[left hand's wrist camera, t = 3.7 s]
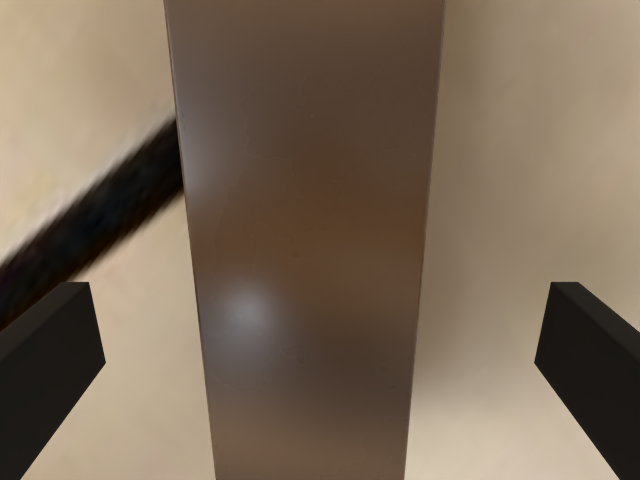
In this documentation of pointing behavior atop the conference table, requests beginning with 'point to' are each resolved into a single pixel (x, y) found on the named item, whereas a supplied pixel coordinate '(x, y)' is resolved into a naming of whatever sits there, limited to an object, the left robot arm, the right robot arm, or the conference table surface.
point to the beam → (307, 223)
